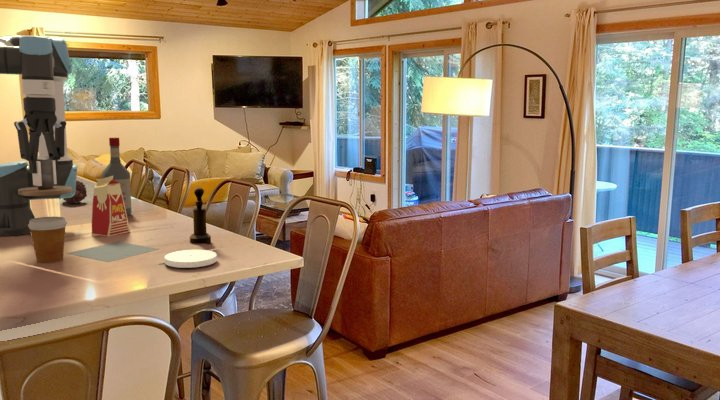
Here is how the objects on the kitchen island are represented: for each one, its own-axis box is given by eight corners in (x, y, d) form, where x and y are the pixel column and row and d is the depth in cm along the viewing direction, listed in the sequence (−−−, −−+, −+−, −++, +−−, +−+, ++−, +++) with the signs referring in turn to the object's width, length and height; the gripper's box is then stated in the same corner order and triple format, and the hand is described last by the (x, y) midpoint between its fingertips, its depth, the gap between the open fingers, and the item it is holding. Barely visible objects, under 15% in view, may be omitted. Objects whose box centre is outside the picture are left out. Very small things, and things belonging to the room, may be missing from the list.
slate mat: (66, 255, 174) (66, 253, 173) (118, 243, 189) (118, 241, 189) (108, 264, 165) (108, 262, 165) (159, 250, 180) (159, 248, 180)
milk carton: (130, 233, 204) (128, 174, 200) (108, 238, 195) (105, 177, 192) (110, 230, 207) (107, 172, 204) (88, 235, 199) (85, 175, 196)
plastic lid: (167, 273, 158) (167, 264, 158) (162, 260, 171) (161, 251, 171) (221, 268, 164) (221, 259, 163) (212, 256, 176) (212, 248, 176)
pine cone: (56, 201, 265) (55, 178, 263) (80, 199, 271) (79, 177, 270) (67, 206, 251) (65, 182, 250) (92, 204, 258) (90, 181, 256)
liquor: (132, 215, 235) (129, 138, 230) (108, 217, 230) (104, 138, 225) (127, 211, 242) (123, 137, 237) (102, 213, 237) (99, 137, 232)
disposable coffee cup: (53, 267, 161) (50, 223, 159) (22, 265, 162) (19, 221, 161) (76, 259, 170) (74, 217, 168) (47, 256, 172) (44, 215, 170)
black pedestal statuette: (191, 240, 194) (190, 185, 191) (212, 240, 195) (211, 185, 192) (187, 245, 187) (186, 188, 185) (209, 245, 188) (207, 188, 185)
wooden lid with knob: (7, 193, 160) (5, 159, 159) (52, 187, 172) (50, 156, 170) (37, 197, 154) (35, 162, 153) (82, 191, 165) (80, 159, 164)
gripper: (16, 96, 150) (23, 189, 154) (76, 97, 164) (81, 182, 168) (-1, 95, 154) (6, 186, 157) (59, 97, 168) (64, 180, 172)
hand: (45, 184), depth 163 cm, fingers closed on wooden lid with knob, 3 cm apart
